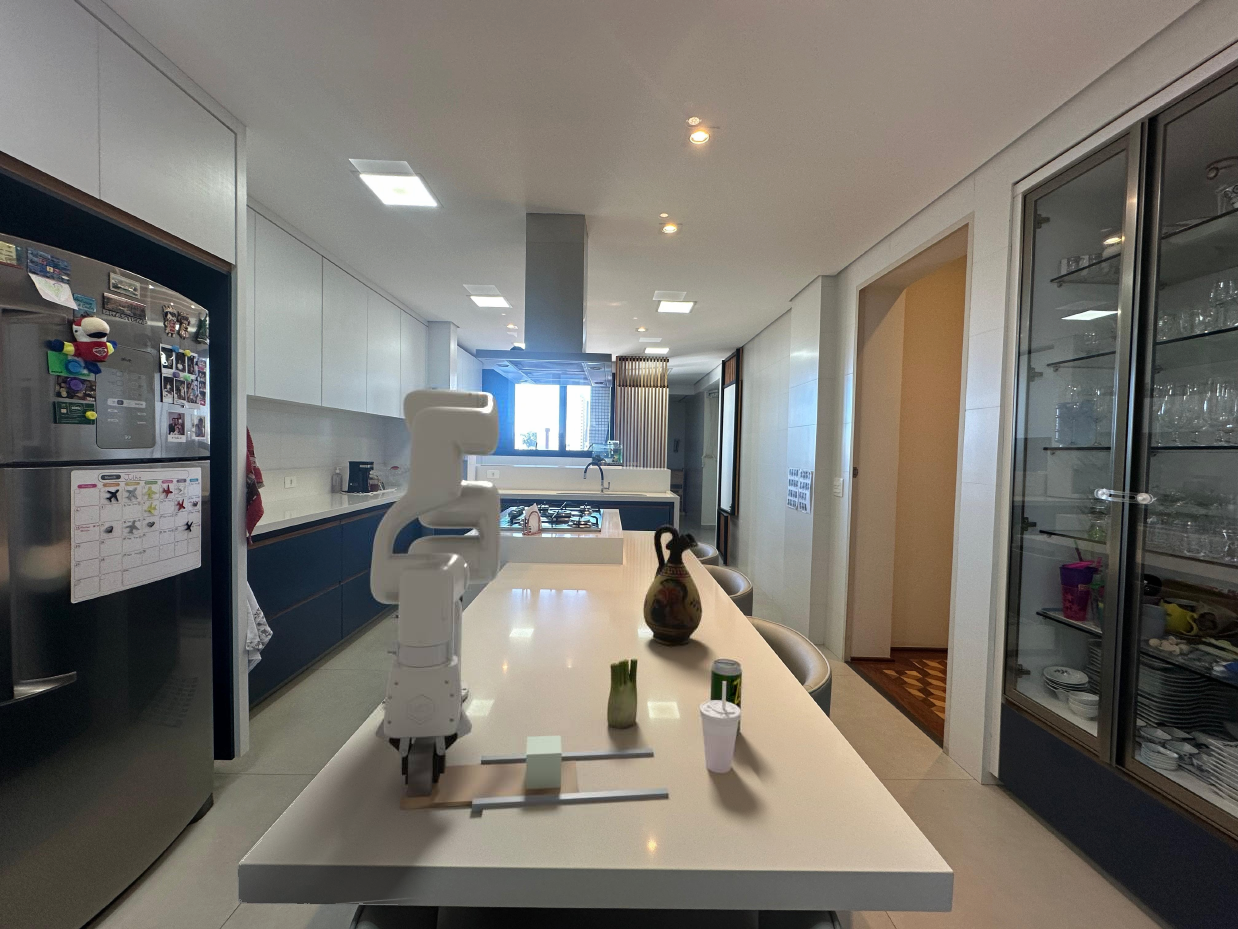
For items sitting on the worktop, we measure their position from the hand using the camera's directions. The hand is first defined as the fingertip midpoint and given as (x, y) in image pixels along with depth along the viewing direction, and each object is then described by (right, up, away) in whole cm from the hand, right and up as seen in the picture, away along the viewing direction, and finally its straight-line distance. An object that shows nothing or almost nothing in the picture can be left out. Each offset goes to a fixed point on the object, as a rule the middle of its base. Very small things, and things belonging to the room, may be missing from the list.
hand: (423, 777), depth 81 cm
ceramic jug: (+41, -2, +68) cm, 80 cm away
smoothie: (+43, -3, +7) cm, 44 cm away
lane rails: (+21, -2, +3) cm, 21 cm away
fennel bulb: (+28, -2, +20) cm, 35 cm away
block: (+17, -1, +2) cm, 17 cm away
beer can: (+47, -3, +19) cm, 51 cm away
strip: (+10, -2, +1) cm, 10 cm away
